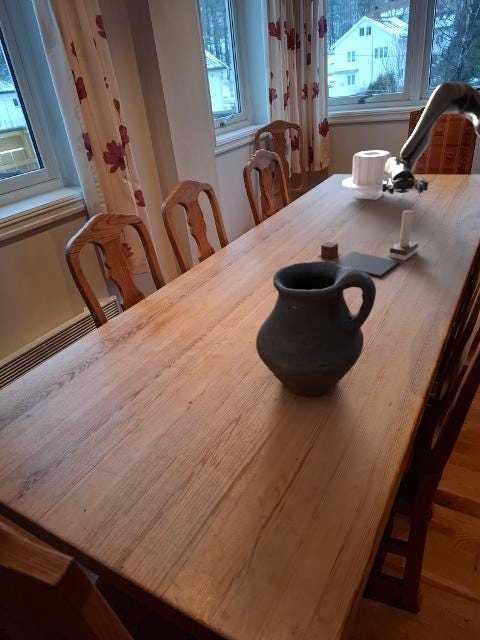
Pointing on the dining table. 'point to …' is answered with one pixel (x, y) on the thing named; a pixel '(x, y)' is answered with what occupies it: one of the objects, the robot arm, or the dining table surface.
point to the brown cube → (329, 250)
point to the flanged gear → (368, 174)
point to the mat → (368, 263)
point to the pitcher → (314, 326)
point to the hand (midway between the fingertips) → (406, 190)
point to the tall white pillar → (404, 239)
